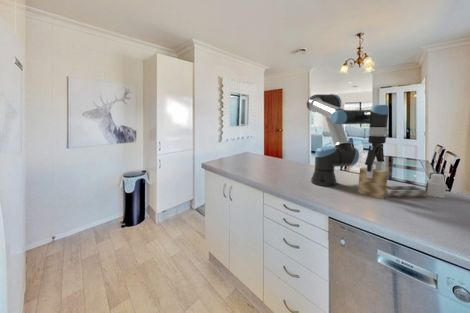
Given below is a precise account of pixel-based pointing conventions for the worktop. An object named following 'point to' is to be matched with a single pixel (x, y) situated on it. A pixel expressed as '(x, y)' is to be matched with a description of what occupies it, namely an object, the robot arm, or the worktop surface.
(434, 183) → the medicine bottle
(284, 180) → the worktop surface
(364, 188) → the door slab
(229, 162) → the worktop surface
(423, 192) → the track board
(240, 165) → the worktop surface
